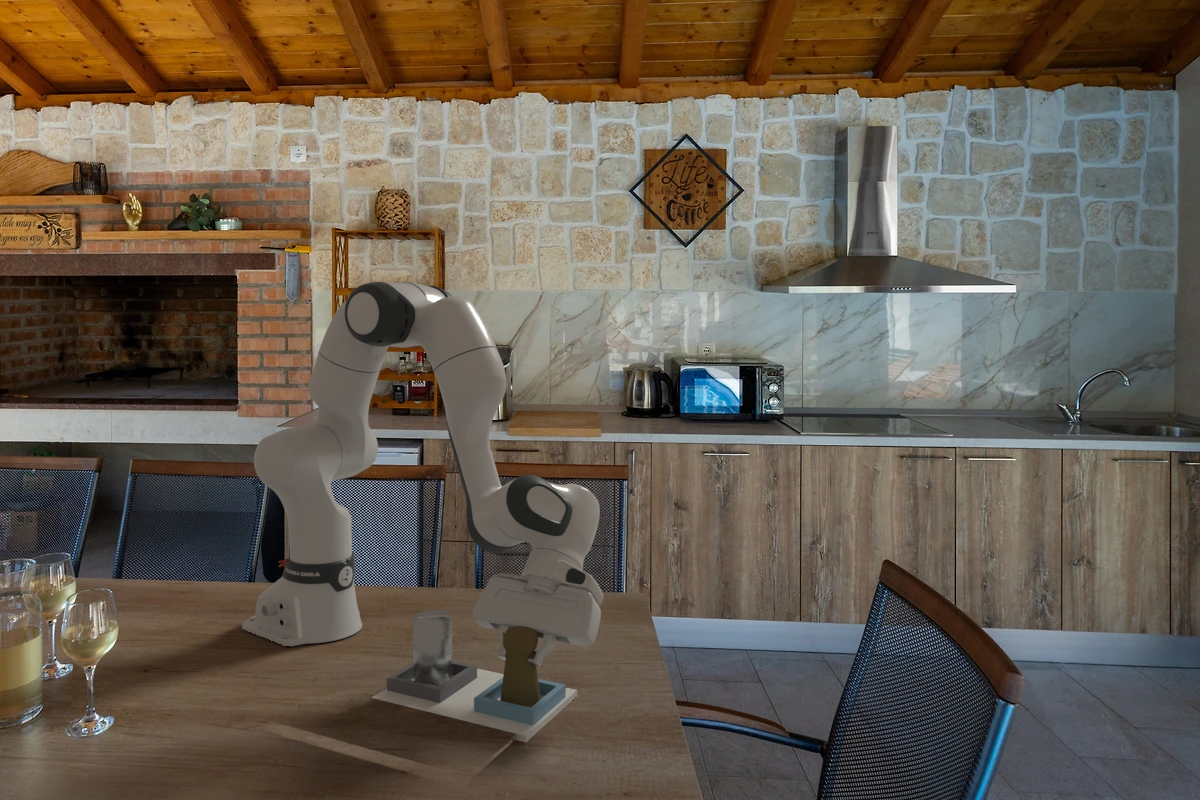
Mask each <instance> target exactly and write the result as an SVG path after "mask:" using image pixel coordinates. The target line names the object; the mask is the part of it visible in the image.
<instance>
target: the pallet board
mask: <svg viewBox="0 0 1200 800" xmlns="http://www.w3.org/2000/svg"><path fill="white" fill-rule="evenodd" d="M503 676H504V673H499V672H495V671H491V670H490V671H489V670H486V669H480V668H478V665H476V664H471V663H466V662H461V661H457V660H453V659H452V678H451V679H449V680H448V681H446V682H445V683H443V684H442V685H440V686H435V685H431V684H426V683H422V682H418V681H413V662H412V663H410V664H408V665H406V666H405V667H403V668H401V669H400V670H398V671H396V672H395V673H393V674H391V675H389V676H387V677H386V688H385V689H383V690H381V691H380V692H378V693H377V694H375V695H373V696H371V699H376V700H380V701H383V702H387V703H390V704H391V703H392V704H395V705H399V706H403V707H408V708H412V709H415V710H420V711H422V712H426V713H427V712H428V713H432V714H436V715H440V716H445V717H448V718H451V719H456V720H460V721H464V722H468V723H471V724H476V725H479V726H480V725H481V726H484V727H488V728H492V729H497V730H500V731H503V732H508V733H512V734H514V735H513V736H512V737H511V738H510V740H514V741H517V742H522V743H528V741H529V740H531V739H532V738H534V736H535V735H536V734H537V733H538V732H540V730H542V729H543V728H544V727H546V725H548V724H549V723H550V722H551V721H552V720H553V719H554V718H555V717H557V715H558V714H559V713H561V712H562V711H563V710H564V709H565V708H566V707H567V706H568V705H569V704H570V703H571V702H573V701H574V700H575V699H576V698H577V697H578V690H577V689H573V688H569V687H566V685H567V684H564V683H560V682H555V681H550V680H545V679H541V678H538V683H539V691H540V698H541V700H539V701H538V702H537V703H536V704H535V705H533V706H532V707H531V708H530V707H526V706H521V705H517V704H513V703H508V702H504V701H500V698H501V691H502V683H503ZM575 697H576V698H575ZM573 699H574V700H573ZM572 700H573V701H572ZM563 708H564V709H563Z"/></svg>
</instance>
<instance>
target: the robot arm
mask: <svg viewBox="0 0 1200 800" xmlns="http://www.w3.org/2000/svg"><path fill="white" fill-rule="evenodd" d="M322 338H323V339H322V341H321V344H320V346H319V350H318V352H317V356H316V358H315V363H314V365H313V369H312V372H311V375H310V378H309V382H308V384H307V392H308V394H309V396H310V398H311V400H312V401H313V402H314V403H315V405H317V406H318V413H317V414H318V415H317V418H316V420H315V422H314V423H313V424H309V425H305V426H304V425H303V426H296V427H290V428H285V429H281V430H278V431H277V432H274V433H272V434H269V435H268V436H266V437H264V438H262V439H261V440H260V441H259V443H258V444H257V445H256V448H255V451H254V455H253V464H254V470H255V473H256V475H257V477H258V478H259V480H260V481H261V483H262V484H264V485H265V486H266V487H267V488H269V489H271V490H272V491H273V492H274V493H275V495H277V497H278V498H279V500H280V502H281V504H282V506H283V509H284V512H285V515H286V519H287V524H288V541H289V556H288V557H287V558H286V559H282V560H279V561H278V563H280V564H279V565H278V568H282V567H284V569H283V573H282V576H281V577H280V578H279V579H277V580H276V581H275V582H273V584H271V585H270V586H268V587H267V588H266V589H264V591H262V592H261V593H260V595H259V596H258V598H257V600H256V605H255V615H252V616H251V617H249V618H248V619H246V620H245V621H244V622H243V623H242V625H241V630H243V629H244V630H243V631H245V630H246V631H245V632H247V631H248V632H247V633H249V632H251V633H250V634H252V633H253V635H254V634H256V635H255V636H257V635H258V636H257V637H259V636H261V637H260V638H262V637H264V638H267V639H269V640H271V641H270V642H272V641H274V642H276V643H275V644H277V643H278V644H277V645H279V644H281V645H280V646H282V645H283V646H282V647H285V646H290V647H295V646H300V645H306V644H320V643H328V642H333V641H338V640H342V639H345V638H348V637H351V636H353V635H354V634H356V633H357V632H359V631H360V630H361V629H362V627H363V622H362V620H361V616H360V615H361V614H360V610H359V607H358V601H357V600H358V599H357V595H356V587H355V581H354V580H355V578H354V577H355V573H356V568H355V567H356V566H355V564H356V560H355V553H354V552H353V540H352V539H353V538H352V537H353V535H352V533H353V532H352V530H353V529H352V516H351V513H350V512H349V510H348V509H347V508H346V507H344V506H343V505H342V504H340V503H338V502H337V501H336V499H335V497H334V495H333V491H332V490H333V489H332V482H333V481H338V480H339V481H340V480H342V479H343V480H344V479H347V478H352V477H354V476H356V475H358V474H360V473H362V472H363V471H365V470H367V469H369V468H370V467H371V466H372V465H373V464H374V463H375V461H376V459H377V456H378V452H379V444H378V439H377V437H376V434H375V433H374V431H373V429H371V427H370V425H369V423H370V422H369V411H370V410H369V409H370V405H371V402H372V401H371V400H372V398H373V394H374V390H375V387H376V385H377V382H378V379H379V375H380V372H381V370H382V366H383V364H384V360H385V356H386V353H387V351H388V350H389V348H401V349H402V348H404V349H405V348H406V349H407V348H411V347H412V348H413V347H420V346H421V348H423V350H424V351H425V353H426V356H427V358H428V360H429V362H430V364H431V365H430V366H431V368H432V371H433V373H434V376H435V378H436V382H437V385H438V388H439V392H440V394H441V399H442V402H443V406H444V411H445V419H446V427H447V431H448V436H449V441H450V445H451V448H452V453H453V456H454V460H455V463H456V467H457V469H458V473H459V476H460V481H461V485H462V488H463V491H464V495H465V503H466V526H467V531H468V533H469V535H470V537H471V539H472V541H473V542H474V543H475V545H477V546H478V547H479V548H480V549H482V550H483V551H485V552H488V553H490V554H495V555H496V554H500V555H501V554H505V553H508V552H510V551H511V550H513V549H514V548H516V547H517V546H519V545H520V544H521V543H524V542H525V543H528V544H529V545H530V546H531V551H530V553H529V556H528V558H527V561H526V563H525V565H524V569H523V571H522V572H521V574H520V573H513V572H512V573H510V572H508V571H507V572H506V571H500V572H499V573H495V574H494V575H492V576H491V577H489V579H488V581H487V583H486V586H485V588H484V589H483V591H482V593H481V594H480V595H479V598H478V600H477V601H476V603H475V605H474V607H473V609H472V615H473V619H474V621H475V622H476V623H477V624H478V625H479V627H481V628H484V629H488V630H496V631H497V632H498V638H499V639H498V640H499V647H498V650H497V653H496V656H497V657H498V659H499V660H504V661H505V660H506V653H507V651H506V650H505V648H504V645H503V637H504V634H505V632H506V631H507V630H508V629H510V628H512V627H516V626H524V627H529V628H532V629H533V630H535V632H536V634H537V637H538V639H541V640H542V641H543V643H542V644H541V645H540V646H539V647H538V648H537V650H534V651H533V652H532V653H531V654H530V657H529V659H528V662H529V663H530V664H531V665H532V666H536V668H541V666H542V663H543V662H544V658H546V657H547V656H548V655H549V654H550V653H551V652H552V651H554V649H555V648H556V647H557V644H558V643H563V644H568V645H574V646H578V647H584V648H588V647H591V645H592V644H593V643H595V641H596V638H597V635H598V631H599V628H600V623H601V619H602V618H601V617H602V610H601V607H600V605H601V604H602V603H603V601H604V598H605V597H604V593H603V591H602V589H601V587H600V586H599V584H598V583H597V581H596V579H595V578H594V577H593V576H592V575H591V574H589V573H588V572H586V571H584V561H585V558H586V556H587V555H588V553H589V552H590V551H591V548H592V545H593V543H594V540H595V537H596V534H597V530H598V526H599V522H600V518H601V517H600V516H601V515H600V514H601V510H600V503H599V501H598V498H597V497H596V495H595V494H593V493H592V491H590V490H589V489H587V488H586V487H584V486H582V485H579V484H577V483H567V484H557V483H553V482H549V481H547V480H545V479H544V478H542V477H541V476H537V475H534V474H524V475H521V476H518V477H516V478H514V479H512V480H511V481H509V482H506V483H505V484H503V485H502V484H501V481H500V477H499V473H498V470H497V466H496V463H495V459H494V456H493V452H492V449H491V446H490V445H491V444H490V431H491V426H492V423H493V420H494V417H495V415H496V413H497V411H498V408H499V406H500V405H501V403H502V402H503V399H504V397H505V394H506V391H507V387H508V383H507V382H508V381H507V376H506V369H505V366H504V363H503V360H502V358H501V355H500V353H499V349H498V348H497V346H496V342H495V341H494V339H493V336H492V335H491V331H490V330H489V328H488V326H487V325H486V323H485V321H484V319H483V318H482V316H481V314H480V313H479V311H478V310H477V308H476V307H475V305H474V304H473V302H472V301H470V300H469V299H467V298H465V297H462V296H454V295H452V294H451V293H450V292H448V291H447V290H445V289H443V288H441V287H437V286H434V285H426V284H421V283H415V282H409V281H403V282H384V281H374V282H372V281H371V282H367V283H364V284H362V285H359V286H357V287H355V288H353V290H352V291H351V292H350V294H349V295H348V297H347V300H346V301H344V302H343V303H341V304H340V305H339V306H338V308H337V310H336V312H335V313H334V315H333V316H332V319H331V320H330V323H329V324H328V327H327V329H326V332H325V333H324V336H323V337H322ZM264 638H263V639H264ZM267 639H266V640H267ZM269 640H268V641H269ZM274 642H273V643H274Z"/></svg>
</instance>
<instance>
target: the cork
mask: <svg viewBox="0 0 1200 800" xmlns="http://www.w3.org/2000/svg"><path fill="white" fill-rule="evenodd" d="M538 643H539V638H538V637H537V634H536V632H535V630H533V629H532V628H529V627H524V626H516V627H512V628H510V629H508V630H507V631H506V632H505V634H504V637H503V645H504V648H505V650H506V651H507V653H506V660H504V661H505V662H504V670H503V674H504V676H503V683H502V691H501V698H500V701H504V702H508V703H513V704H517V705H521V706H526V707H530V708H531V707H532V706H533V705H535V704H536V703H537V702H538V701H539V700H541V698H540V691H539V683H538V679H539V675H538V669H537V668H538V667H536V666H532V665H531V664H530V663H529V662H528V659H529V657H530V654H531V653H532V652H533V651H536V649H537V647H538Z"/></svg>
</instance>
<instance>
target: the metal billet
mask: <svg viewBox="0 0 1200 800" xmlns="http://www.w3.org/2000/svg"><path fill="white" fill-rule="evenodd" d="M452 618H453V616H452V613H451V612H450V611H447V610H443V609H427V610H422V611H419V612H416V613H414V614H413V616H412V663H413V681H418V682H422V683H426V684H431V685H435V686H440V685H442V684H443V683H445V682H446V681H448V680H449V679H451V678H452V660H453V619H452Z"/></svg>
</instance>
